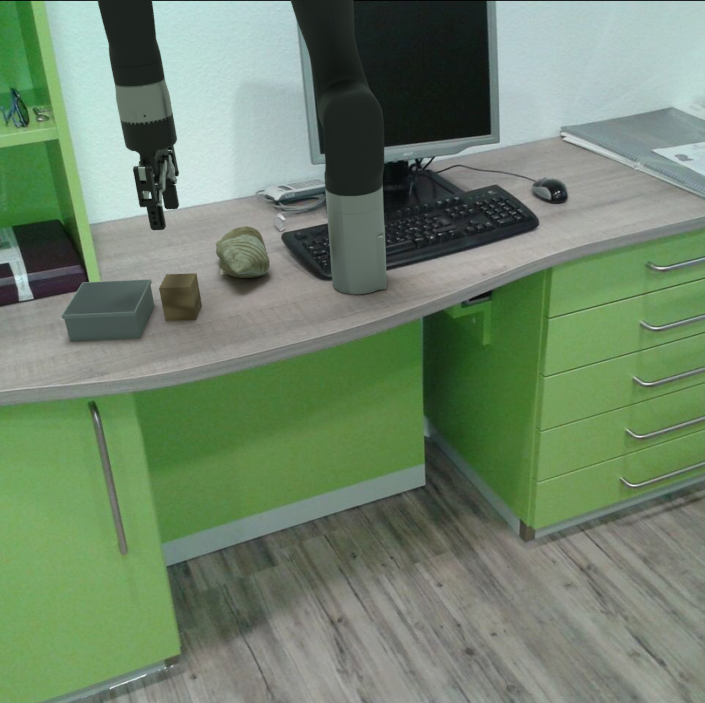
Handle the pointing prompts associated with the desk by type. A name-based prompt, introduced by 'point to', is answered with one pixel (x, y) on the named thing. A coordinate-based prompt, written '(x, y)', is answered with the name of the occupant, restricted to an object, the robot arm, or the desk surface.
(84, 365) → the desk surface
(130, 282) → the grey-green square slab
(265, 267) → the seashell
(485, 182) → the desk surface
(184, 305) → the brass block
